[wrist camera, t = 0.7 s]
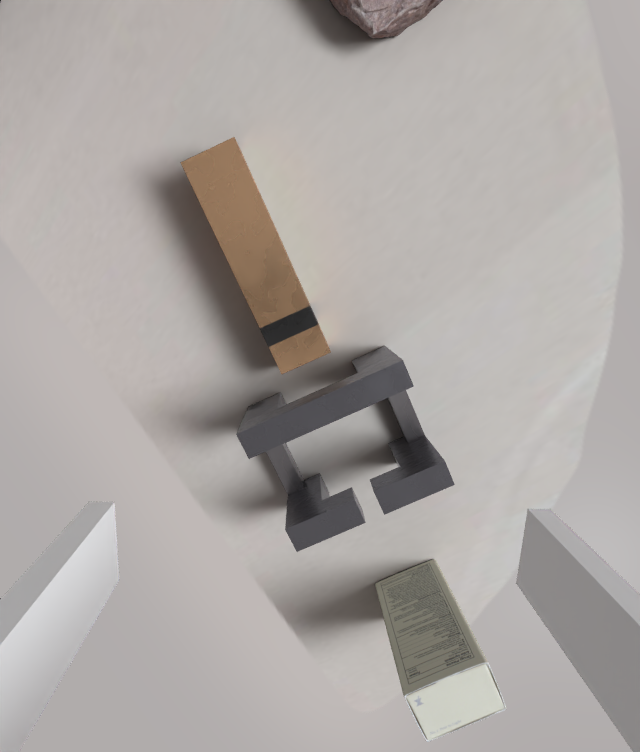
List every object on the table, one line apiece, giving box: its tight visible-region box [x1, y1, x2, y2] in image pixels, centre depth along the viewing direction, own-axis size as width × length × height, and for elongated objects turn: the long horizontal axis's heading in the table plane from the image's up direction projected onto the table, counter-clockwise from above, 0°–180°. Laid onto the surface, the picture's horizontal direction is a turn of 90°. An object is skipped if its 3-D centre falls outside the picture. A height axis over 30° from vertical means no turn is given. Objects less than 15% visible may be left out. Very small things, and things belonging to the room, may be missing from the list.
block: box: [181, 137, 331, 374], centre depth 34 cm, size 16×4×4 cm, turn 24°
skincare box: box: [375, 559, 506, 742], centre depth 37 cm, size 6×4×12 cm
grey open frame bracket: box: [236, 346, 454, 552], centre depth 36 cm, size 10×12×7 cm
